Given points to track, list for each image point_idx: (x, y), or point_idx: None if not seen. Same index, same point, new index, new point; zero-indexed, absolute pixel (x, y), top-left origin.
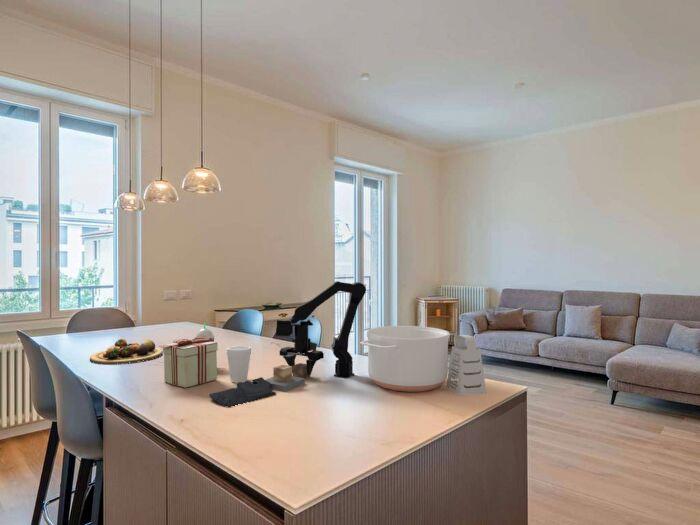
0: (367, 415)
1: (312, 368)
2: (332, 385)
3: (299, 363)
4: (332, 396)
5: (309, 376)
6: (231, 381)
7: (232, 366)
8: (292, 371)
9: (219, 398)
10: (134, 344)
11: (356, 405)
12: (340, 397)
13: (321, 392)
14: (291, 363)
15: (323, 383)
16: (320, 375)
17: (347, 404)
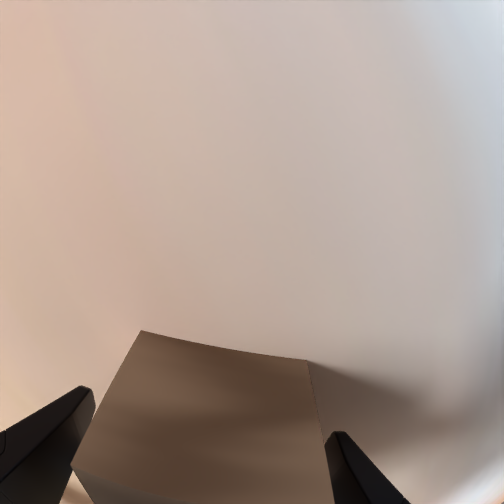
0: (498, 493)
1: (391, 494)
2: (491, 433)
3: (87, 482)
4: (460, 494)
5: (305, 365)
6: None
7: None
8: (88, 426)
9: None
10: None
11: (499, 484)
12: (481, 484)
13: (429, 500)
14: (47, 502)
15: (452, 441)
16: (431, 265)
17: (482, 493)
